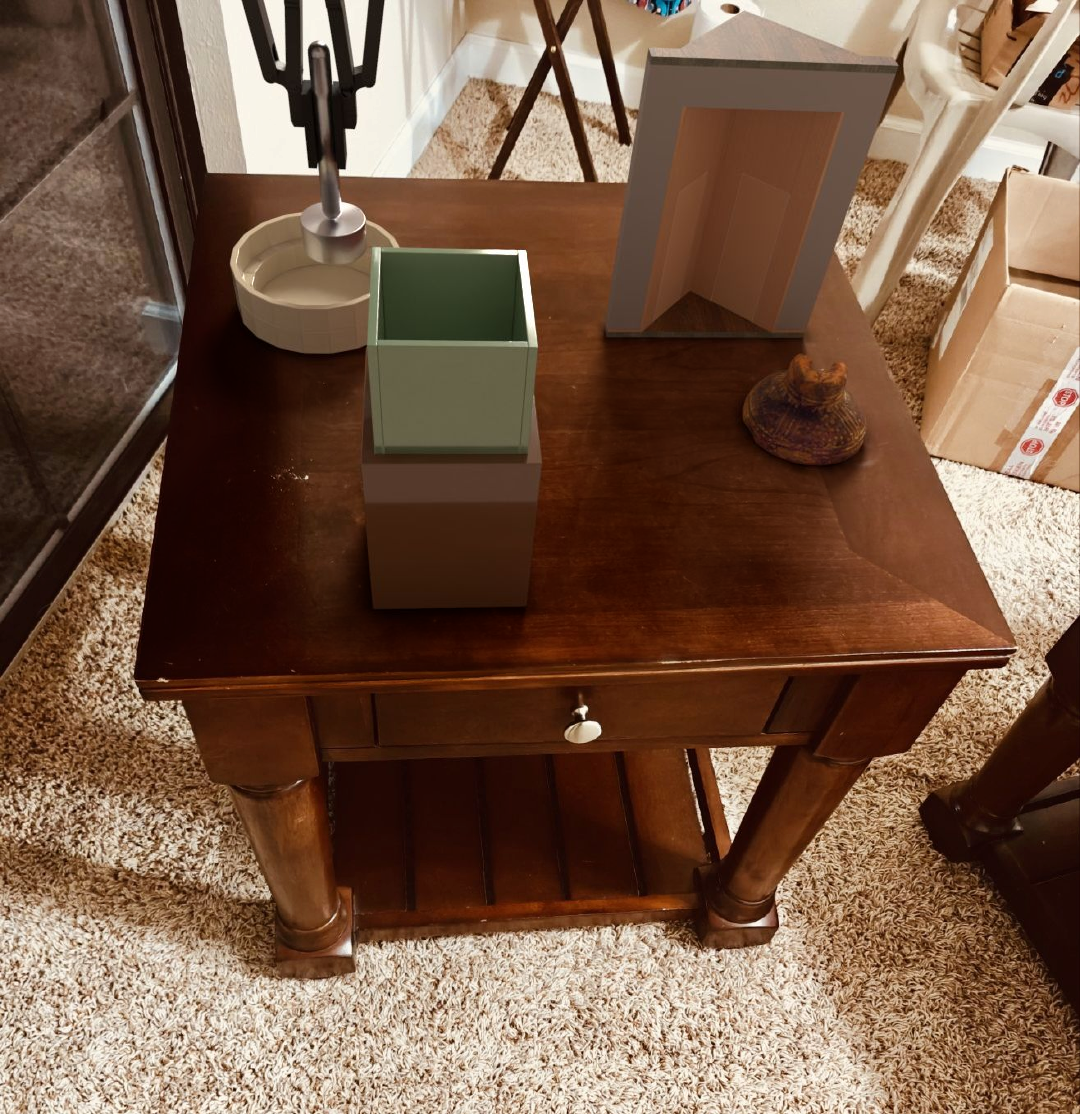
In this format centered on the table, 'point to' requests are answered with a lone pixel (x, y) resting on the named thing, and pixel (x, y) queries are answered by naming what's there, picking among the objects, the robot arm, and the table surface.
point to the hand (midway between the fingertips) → (328, 160)
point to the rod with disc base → (329, 179)
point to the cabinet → (741, 180)
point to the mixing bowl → (302, 289)
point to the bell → (806, 414)
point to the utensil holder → (450, 428)
